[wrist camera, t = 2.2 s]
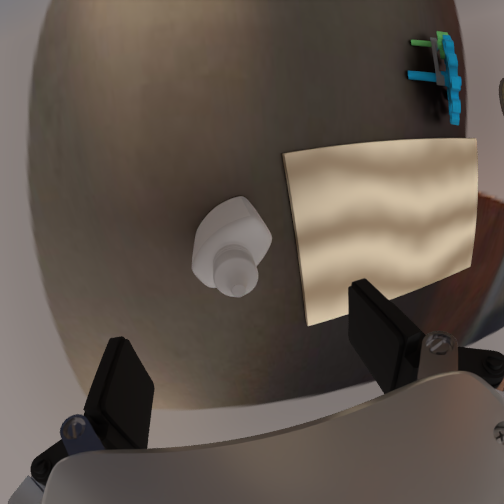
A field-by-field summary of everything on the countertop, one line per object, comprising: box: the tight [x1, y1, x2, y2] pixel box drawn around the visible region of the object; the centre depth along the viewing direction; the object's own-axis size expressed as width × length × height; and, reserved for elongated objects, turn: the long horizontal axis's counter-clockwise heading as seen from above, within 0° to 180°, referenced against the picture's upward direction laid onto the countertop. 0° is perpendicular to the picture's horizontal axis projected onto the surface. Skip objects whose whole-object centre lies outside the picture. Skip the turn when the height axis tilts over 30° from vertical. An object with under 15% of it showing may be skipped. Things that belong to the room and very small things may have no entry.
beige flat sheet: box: [282, 138, 478, 326], centre depth 27 cm, size 18×26×1 cm
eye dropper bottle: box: [192, 196, 272, 297], centre depth 19 cm, size 4×6×12 cm
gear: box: [408, 31, 461, 125], centre depth 19 cm, size 11×6×10 cm
